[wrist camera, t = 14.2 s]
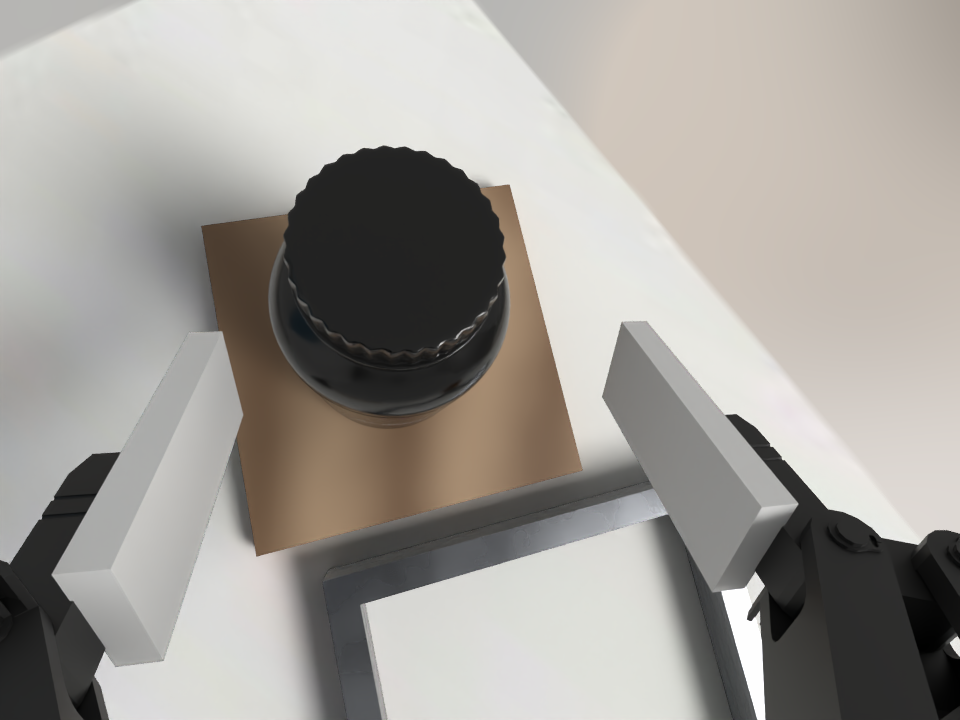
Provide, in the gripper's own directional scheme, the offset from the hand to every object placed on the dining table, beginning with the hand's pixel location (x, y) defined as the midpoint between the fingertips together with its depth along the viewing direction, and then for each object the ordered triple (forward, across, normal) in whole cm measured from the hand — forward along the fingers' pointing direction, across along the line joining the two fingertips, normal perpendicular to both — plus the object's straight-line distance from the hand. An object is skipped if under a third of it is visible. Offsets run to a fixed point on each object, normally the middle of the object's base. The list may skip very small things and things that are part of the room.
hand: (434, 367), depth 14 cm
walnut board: (+8, -1, -5) cm, 10 cm away
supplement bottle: (+7, -1, -4) cm, 9 cm away
